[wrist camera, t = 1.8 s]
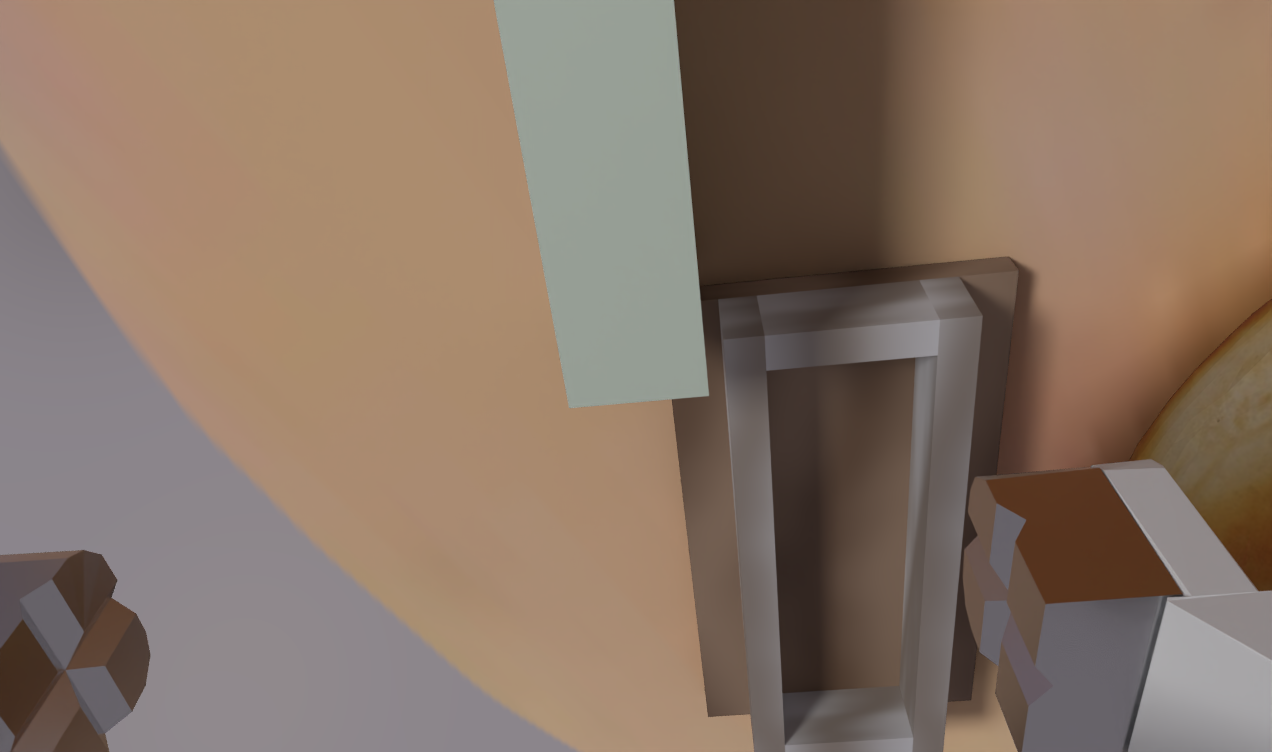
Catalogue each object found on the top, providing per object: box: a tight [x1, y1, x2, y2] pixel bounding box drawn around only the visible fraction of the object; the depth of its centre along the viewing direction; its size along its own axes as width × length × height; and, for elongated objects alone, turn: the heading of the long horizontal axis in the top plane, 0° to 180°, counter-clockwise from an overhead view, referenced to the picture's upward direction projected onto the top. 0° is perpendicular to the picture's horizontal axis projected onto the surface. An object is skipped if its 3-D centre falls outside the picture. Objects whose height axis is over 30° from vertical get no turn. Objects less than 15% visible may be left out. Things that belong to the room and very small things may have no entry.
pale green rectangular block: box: [494, 0, 709, 408], centre depth 23 cm, size 4×14×8 cm, turn 7°
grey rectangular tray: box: [672, 257, 1019, 752], centre depth 34 cm, size 11×20×4 cm, turn 7°
